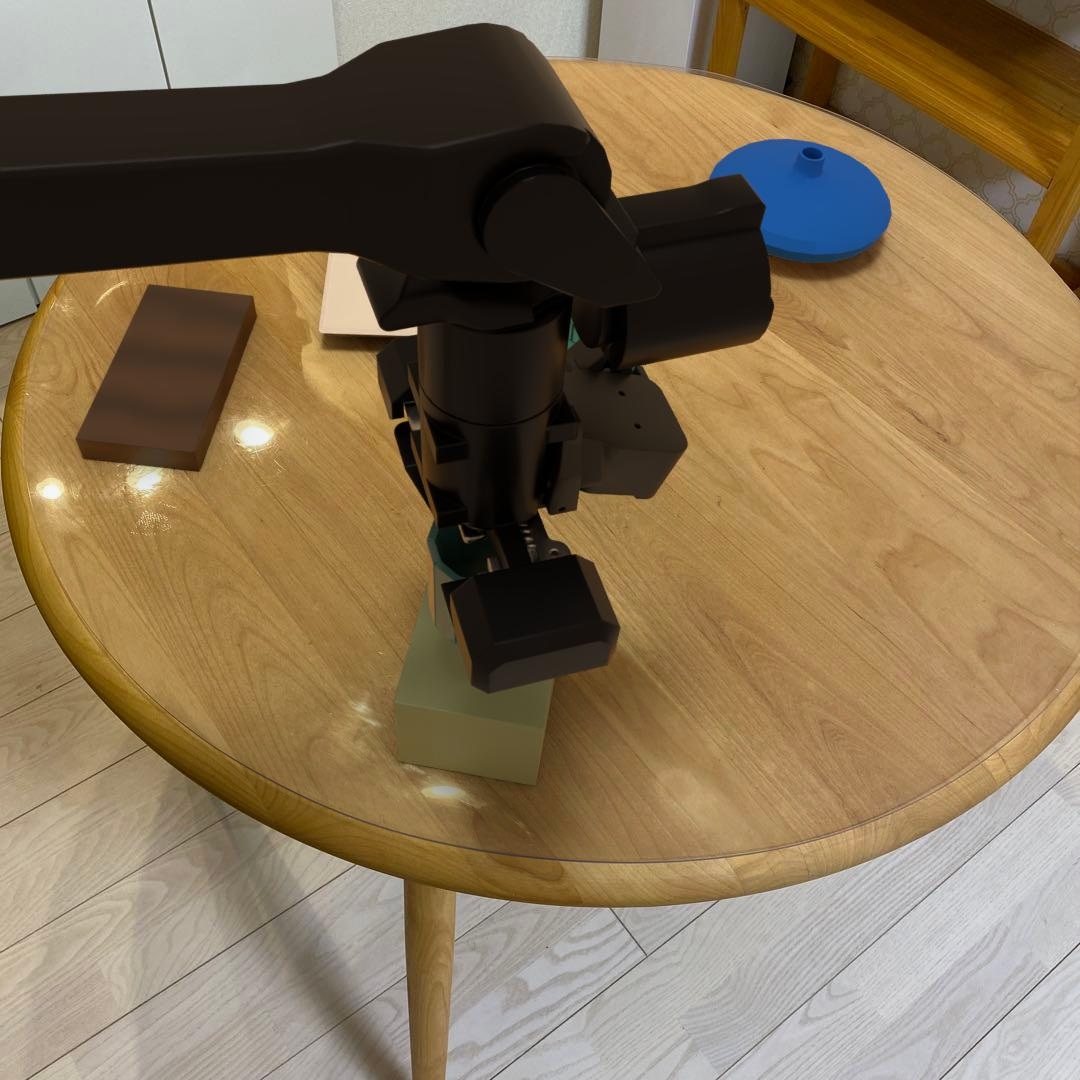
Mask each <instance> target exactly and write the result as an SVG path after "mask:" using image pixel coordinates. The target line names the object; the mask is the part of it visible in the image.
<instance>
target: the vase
mask: <svg viewBox="0 0 1080 1080" xmlns="http://www.w3.org/2000/svg"><path fill="white" fill-rule="evenodd" d="M734 174H742V175H743V176H744V177H745V178H746V180H747V181H748V182H749V184H750V185H751V186H752V188H753V189H754V190H755V192H756V193H757V194H758V196H759V197H760V198H761V200H762V201H763V203H764V204H765V205H766V210H765V213H764V217H763V221H762V225H761V228H760V229H761V232H762V235H763V238H764V242H765V245H766V249H767V252H768V256H769V255H770V256H773V257H777V258H780V259H783V260H786V261H795V262H802V263H809V264H814V263H815V264H819V263H834V262H839V261H843V260H846V259H851V258H854V257H856V256H858V255H860V254H862V253H864V252H865V251H867V250H869V249H870V248H871V247H873V245H874V244H875V243H876V242H877V241H878V240H879V239H880V238H881V237H882V235H883V234H884V233H885V232H886V231H887V229H888V228H889V225H890V223H891V219H892V215H893V213H892V205H891V199H890V197H889V195H888V194H887V191H886V190H885V187H884V186H883V184H882V183H881V180H880V179H879V177H877V176H876V174H875V173H874V172H873V171H872V170H870V168H868V166H867V165H865V164H864V163H862V162H860V161H859V160H858V159H856V158H854V157H853V156H851V155H850V154H847V153H846V152H845V153H844V152H843V151H841V150H838V149H836V148H834V147H831V146H828V145H826V144H825V145H824V144H821V143H817V142H813V141H809V140H801V139H793V138H772V139H771V138H770V139H769V138H768V139H764V140H759V141H753V142H749V143H747V144H745V145H742V146H740V147H738V148H736V149H734V150H732V151H731V152H729V153H728V154H726V155H725V156H724V157H723V158H722V159H720V160H719V161H718V162H717V163H716V164H715V165H714V167H713V169H712V170H711V172H710V175H709V176H708V180H709V179H712V178H716V177H721V176H727V175H734Z"/></svg>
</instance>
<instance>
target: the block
mask: <svg viewBox="0 0 1080 1080" xmlns="http://www.w3.org/2000/svg"><path fill="white" fill-rule="evenodd" d="M255 303H256V302H255V298H254V296H253V295H250V294H242V293H235V292H234V293H233V292H224V291H214V290H206V289H196V288H188V287H180V286H179V287H178V286H169V285H162V284H153V283H152V284H151V283H148V284H147V286H146V289H145V291H144V293H143V295H142V297H141V299H140V301H139V303H138V305H137V308H136V310H135V311H134V313H133V316H132V318H131V320H130V323H129V325H128V327H127V329H126V331H125V332H124V335H123V337H122V338H121V341H120V343H119V345H118V348H117V350H116V352H115V354H114V355H113V358H112V360H111V362H110V364H109V366H108V369H107V371H106V372H105V375H104V377H103V380H102V382H101V383H100V385H99V388H98V389H97V391H96V394H95V395H94V398H93V401H92V402H91V404H90V406H89V409H88V411H87V412H86V415H85V417H84V419H83V421H82V424H81V426H80V427H79V429H78V432H77V434H76V436H75V442H76V444H77V446H78V450H79V452H80V455H81V457H82V459H87V460H96V461H103V462H104V461H105V462H113V463H123V464H133V465H141V466H149V467H158V468H159V467H160V468H169V469H178V470H185V471H186V470H187V471H196V472H199V471H200V470H201V467H202V464H203V462H204V459H205V456H206V453H207V451H208V447H209V445H210V443H211V440H212V437H213V434H214V432H215V429H216V426H217V424H218V421H219V418H220V416H221V413H222V410H223V408H224V405H225V402H226V400H227V397H228V395H229V391H230V389H231V386H232V384H233V381H234V378H235V375H236V372H237V370H238V367H239V365H240V361H241V359H242V356H243V354H244V351H245V348H246V346H247V343H248V340H249V337H250V335H251V332H252V329H253V327H254V324H255V321H256V320H257V319H256V318H257V309H256V304H255Z"/></svg>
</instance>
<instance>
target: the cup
mask: <svg viewBox="0 0 1080 1080" xmlns="http://www.w3.org/2000/svg"><path fill="white" fill-rule="evenodd" d="M432 520H433V521H432V523H431V525H430V529H429V531H428V534H427V537H426V567H427V569H426V570H427V581H428V601H429V609H430V612H431V615H432V619H433V622H434V626H435V627H436V629H437V630H438V631H440V632H441V633H442V634H443V635H444V636H445V637H447V638H448V639H449V640H450V641H451V642H452V643H454V644H456V645H457V646H459V644H458V641H457V638H456V634H455V630H454V628H453V625H452V621H451V618H450V615H449V612H448V608H447V605H446V602H445V599H444V595H443V592H442V589H441V584H442V583H446V582H451V581H455V580H460V579H465V578H469V577H472V576H474V575H478V574H479V573H481V572H486V573H488V569H487V559H488V558H491V557H495V556H496V554H495V551H494V548H493V545H492V542H491V539H490V536H489V534H488V531H487V530H484V532H486V533H487V539H485V540H483V541H481V542H476V543H472V544H468V543H465V542H464V540H463V538H462V535H461V532H460V529H459V526H458V525H457V526H452V527H447V528H442V529H438V530H437V526H436V523H435V520H434V519H432ZM522 530H523V529H520V531H521V533H522ZM524 537H525V536H523V539H524ZM525 544H526V547H527V543H525ZM531 554H532V556H533V558H534V554H535V551H531Z"/></svg>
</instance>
